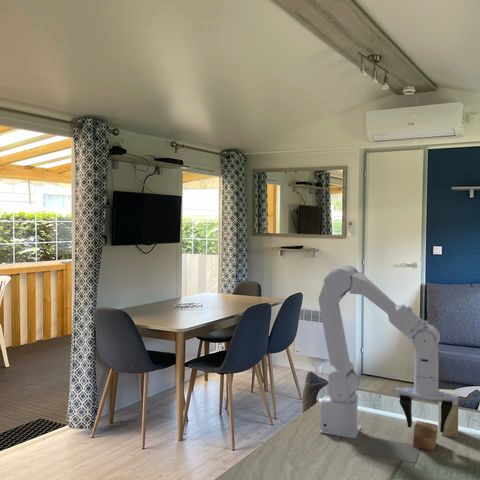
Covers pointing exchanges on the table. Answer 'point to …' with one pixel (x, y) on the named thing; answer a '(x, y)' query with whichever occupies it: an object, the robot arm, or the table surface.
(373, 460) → the table surface
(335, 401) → the robot arm
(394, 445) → the mat
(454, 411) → the box
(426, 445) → the cube
